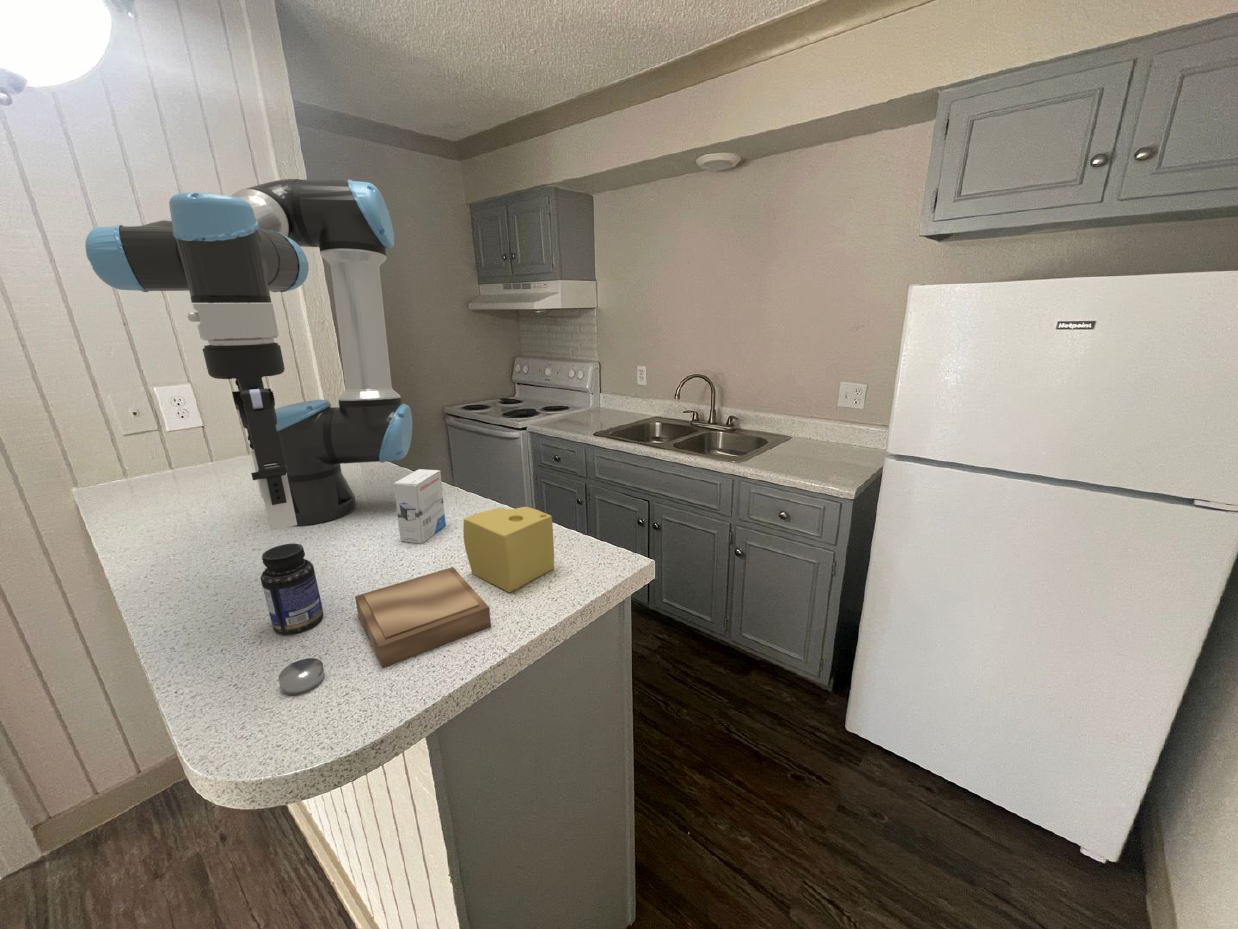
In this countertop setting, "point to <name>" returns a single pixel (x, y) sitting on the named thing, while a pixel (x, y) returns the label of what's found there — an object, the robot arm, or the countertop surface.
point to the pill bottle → (290, 589)
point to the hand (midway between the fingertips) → (278, 510)
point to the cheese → (509, 545)
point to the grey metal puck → (301, 676)
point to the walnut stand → (421, 614)
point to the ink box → (419, 505)
